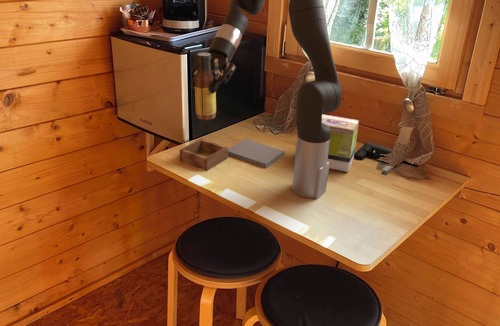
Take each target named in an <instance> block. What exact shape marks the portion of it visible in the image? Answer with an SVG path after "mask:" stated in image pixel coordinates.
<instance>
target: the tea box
mask: <svg viewBox="0 0 500 326" xmlns="http://www.w3.org/2000/svg"><path fill="white" fill-rule="evenodd" d="M322 123H324V124H326V125H328V126H329V127H330V129H331V138H330V145H329V152H328V160H327V161H328V162H330V165H329V170H330V169H331V170H336V171H340V172H345V173H348V172H349V171H350V168H351V166H352V163H353V161H354V159H355V158H354V153H355V152H356V146H357V138H358V131H359V123H360V119H353V118H347V117H341V116H335V115H330V114H329V115H328V114H322Z"/></svg>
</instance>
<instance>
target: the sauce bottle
mask: <svg viewBox="0 0 500 326" xmlns="http://www.w3.org/2000/svg"><path fill="white" fill-rule="evenodd" d="M196 56H197V59H198V70H197V72H196V74H195V89H194V96H195V97H194V98H195V100H194V101H195V114H196V117H197V119H198V120H202V121H210V120H211V121H212V120H214V119H216V116H217V98H216V97H217V96H216V95H217V93H216V92H217V91H216V92H214V94H212V93H210V92H209V88H210V86H211V84H212V82H213V80H215V75H214V74H213V72H212V71H211V63H210V59H211V54H210V53H208V52H198V53H197V54H196Z"/></svg>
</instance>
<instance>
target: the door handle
mask: <svg viewBox="0 0 500 326" xmlns="http://www.w3.org/2000/svg"><path fill="white" fill-rule="evenodd" d="M392 150H393V148H390V147H386V146H383V145H379V144H376V143H372V142H370V141H366V142H364V143H363V145H362V146H361V147H360V148H359V149H357V150H355V153H354V159H355V160H359V161H362V160H364V159H365V158H368V159H369V158H370V159H372V158H373V160H375V159H379V158H380V157H387V156H384V155H380V154H388V153H391V152H392ZM390 170H391V166H387V165H385V166H384V168H382V170H381V174H383V173H385V174H384V175H386V174H387V175H388V174H389V173H390V172H391V171H392V170H391V171H390Z"/></svg>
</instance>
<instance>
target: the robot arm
mask: <svg viewBox="0 0 500 326" xmlns="http://www.w3.org/2000/svg"><path fill="white" fill-rule="evenodd" d="M265 2H266V1H265V0H230V2H229V3H230V4H229V7H228V12H227V14H226V17H225V18H224V21H223V22H222V24H221V26H220V28H218V30H217V32H216V33H215V36H214V38H213V40H212V41H211V44H210V46H209V48H208V52H207V53H210V54H211V59H210V63H211V71H212V74H213V73H214V79H215V80H213V82H212V84H211V86H210V88H209V92H210V93H212V94H214V92H217V90H218V89H219V87H220V84H223V83H224V84H227V83H229V81H230V79H231V77H232V76H233V74H234V72H235V71H236V69H237V67H236V65H235V64H234V62H231V60H232V59H233V56H234V55H235V53H236V50H238V49H237V48H238V47H239V45H240V43H241V40H242V38H243V35H244V33H245V31H246V29H247V28H248V24H249V19H248V17H247V16H246V15H245V13H247V14H248V15H250V16H257V15H259V14H260V13H261V12H262V10H263V8H264V5H265ZM287 9H288V16H289V22H290V28H291V32H292V35H293V37H294V39H295V41H296V42H297V43H298V45H299V47H300V48H301V49H302V51H304V53H305V54H306V56H307V57H308V60H309V62H310V64H311V66H312V71H313V75H314V80H310V81H307V82H304V83H302V84H301V86H300V87H299V89H298V92H297V96H296V110H295V125H296V130H297V136H296V144H295V145H296V146H295V155H294V164H293V171H292V172H293V173H292V184H291V190H292V192H293V193H294V194H296V195H297V196H300V197H301V198H302V197H303V198H309V199H315V200H316V199H319V198H321V196H322V195H323V194H324V193H326V191H327V187H328V186H327V184H328V178H329V170H330V168H329V165H330V162H328V161H327V160H328V152H329V145H330V138H331V129H330V127H329V126H328V125H326V124H324V123H322V114H324V115H326V114H329V113H331V112H334V111H337V110H338V109H339V108H340V106H341V105H342V100H343V99H342V98H343V95H342V94H343V93H342V91H343V90H342V88H341V83H340V79H339V76H338V72H337V68H336V64H335V61H334V57H333V53H332V47H331V46H332V45H331V42H330V36H329V33H328V24H327V18H326V12H325V6H324V1H323V0H289V2H288V7H287ZM242 11H244V12H245V13H243V12H242ZM197 70H198V59H197V55H196V57H195V58H194V61H193V63H192V66H191V68H190V72H191V73H192V74H193V77H192V80H191V81H190V87H191V88H192V89H194V90H195V74H196V72H197Z"/></svg>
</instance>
